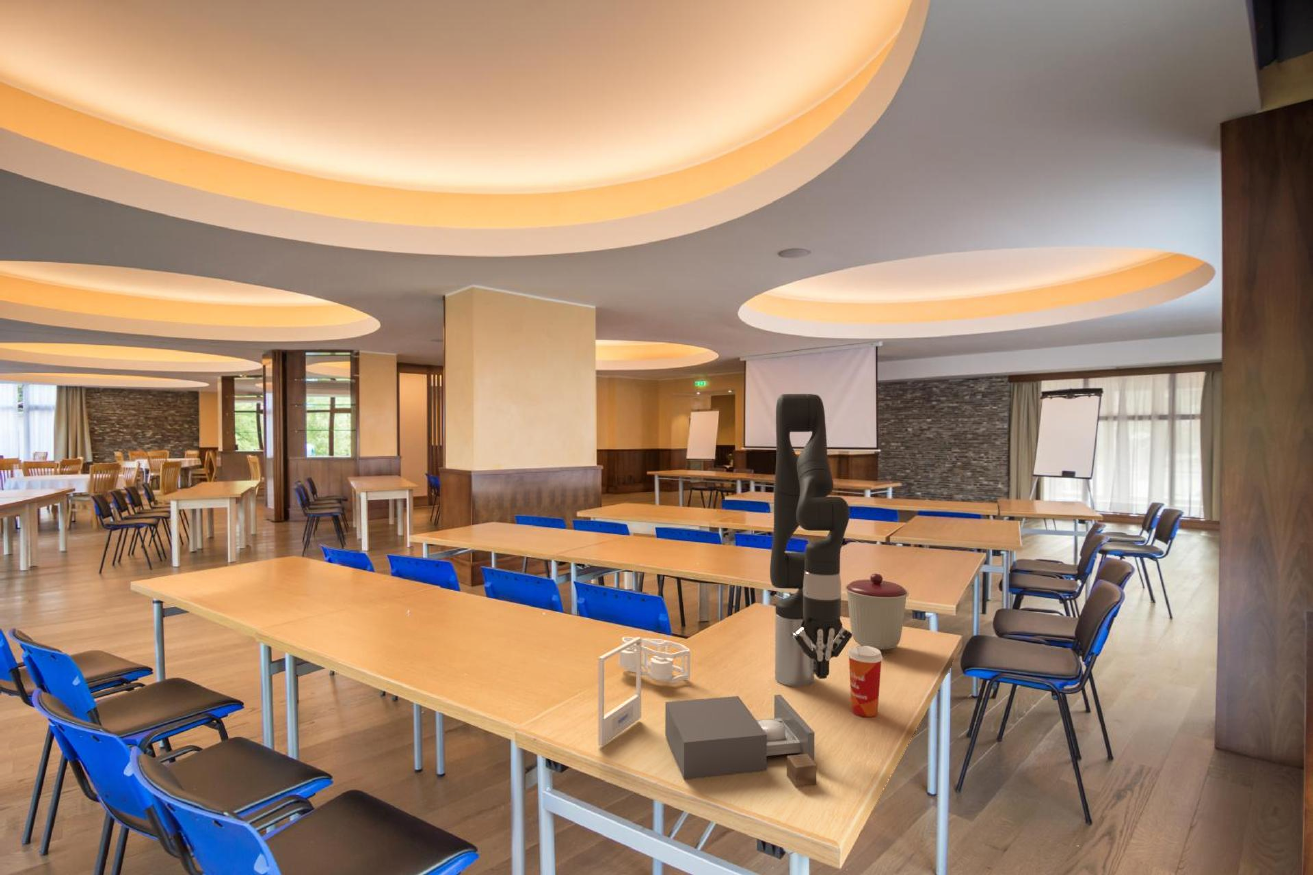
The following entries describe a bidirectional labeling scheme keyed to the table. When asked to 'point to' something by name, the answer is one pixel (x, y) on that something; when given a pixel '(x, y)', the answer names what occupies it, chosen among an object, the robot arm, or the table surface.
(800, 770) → the block
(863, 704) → the paper cup
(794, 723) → the grey drawer
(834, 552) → the robot arm
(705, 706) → the grey drawer box
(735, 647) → the table surface
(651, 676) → the cup holder
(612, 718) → the photo frame
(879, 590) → the canister
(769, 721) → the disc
